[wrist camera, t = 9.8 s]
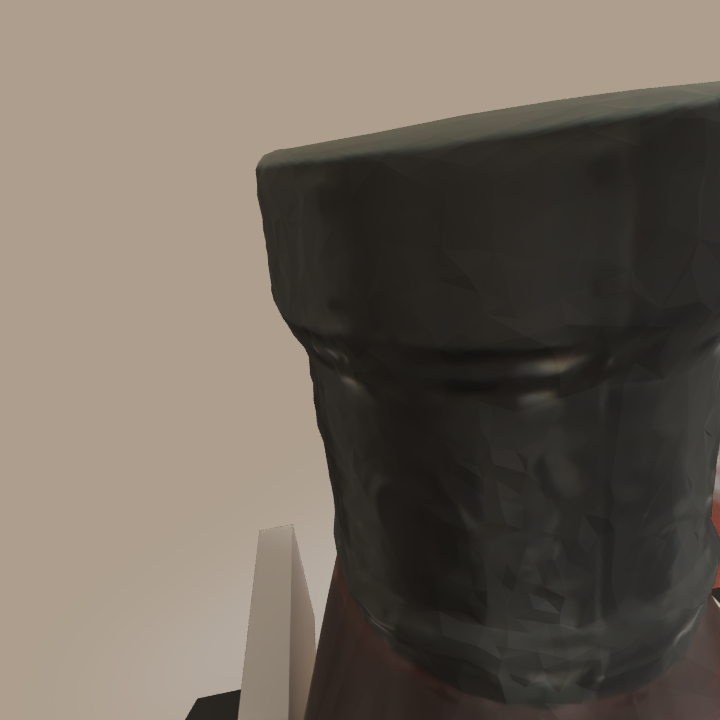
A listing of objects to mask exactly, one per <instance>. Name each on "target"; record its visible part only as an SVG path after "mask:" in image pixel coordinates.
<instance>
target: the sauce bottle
mask: <svg viewBox="0 0 720 720" xmlns="http://www.w3.org/2000/svg"><path fill="white" fill-rule="evenodd" d="M256 177H257V196H258V201H259V205H260V210H261V214H262V218H263V231H264V235H265V240H266V249H267V254H268V265H269V272H270V279H271V285H272V286H271V291H272V295H273V299H274V301H275V303H276V305H277V307H278V309H279V311H280V313H281V315H282V317H283V319H284V320H285V322H286V323H287V324H288V326H289V328H290V330H291V331H292V333H293V335H294V336H295V337H296V338H297V339H298V341H299V342H300V343H301V344H302V345H303V346H304V348H305V349H306V352H307V354H308V356H309V364H310V376H311V379H312V381H313V392H314V404H315V409H316V416H317V425H318V429H319V431H320V434H321V436H322V439H323V441H324V446H325V453H326V458H327V464H328V470H329V477H330V481H331V486H332V491H333V496H334V504H335V519H334V538H335V544H336V549H337V557H336V561H335V566H334V570H333V575H332V580H331V585H330V589H329V594H328V598H327V604H326V608H325V613H324V619H323V623H322V628H321V634H320V639H319V644H318V649H317V654H316V659H315V664H314V669H313V674H312V679H311V684H310V689H309V694H308V699H307V705H306V710H305V715H304V720H720V607H719V606H718V605H717V603H716V602H715V600H714V598H713V596H712V594H711V590H712V588H713V586H714V583H715V579H716V574H717V569H718V564H719V559H720V539H719V536H718V534H717V532H716V529H715V527H714V525H713V522H712V520H711V516H712V498H713V490H714V483H715V475H716V463H717V457H718V451H719V444H720V81H718V82H708V83H698V84H688V85H678V86H668V87H658V88H648V89H638V90H630V91H622V92H614V93H606V94H600V95H592V96H584V97H577V98H570V99H562V100H556V101H549V102H543V103H537V104H531V105H525V106H518V107H512V108H506V109H501V110H493V111H487V112H482V113H475V114H469V115H463V116H457V117H452V118H447V119H442V120H437V121H432V122H428V123H422V124H418V125H412V126H407V127H402V128H398V129H392V130H388V131H382V132H378V133H373V134H367V135H361V136H356V137H350V138H344V139H338V140H333V141H328V142H322V143H317V144H311V145H306V146H301V147H295V148H289V149H280V150H276V151H273V152H271V153H268V154H266V155H264V156H263V157H262V159H261V160H260V161H259V163H258V166H257V168H256Z"/></svg>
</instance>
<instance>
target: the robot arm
mask: <svg viewBox="0 0 720 720" xmlns="http://www.w3.org/2000/svg"><path fill="white" fill-rule="evenodd" d="M711 594H712V596H713V598H714V600H715V602H716V603H717V605H718V606H719V607H720V587H719V588H715V589H712V590H711ZM315 659H316V653H315V622H314V614H313V609H312V605H311V600H310V596H309V592H308V588H307V583H306V580H305V575H304V571H303V567H302V563H301V558H300V554H299V550H298V545H297V541H296V537H295V533H294V528H293V525H286V526H281V527H276V528H271V529H266V530H261V531H259V539H258V549H257V557H256V565H255V574H254V583H253V591H252V600H251V609H250V618H249V626H248V635H247V645H246V652H245V662H244V671H243V679H242V687H241V690H236V691H231V692H227V693H222V694H217V695H213V696H208V697H203V698H198V699H197V701H196V702H195V704H194V706H193V707H192V709H191V711H190V712H189V714H188V716H187V718H186V719H185V720H304V715H305V710H306V705H307V699H308V694H309V689H310V684H311V679H312V674H313V669H314V664H315Z"/></svg>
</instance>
